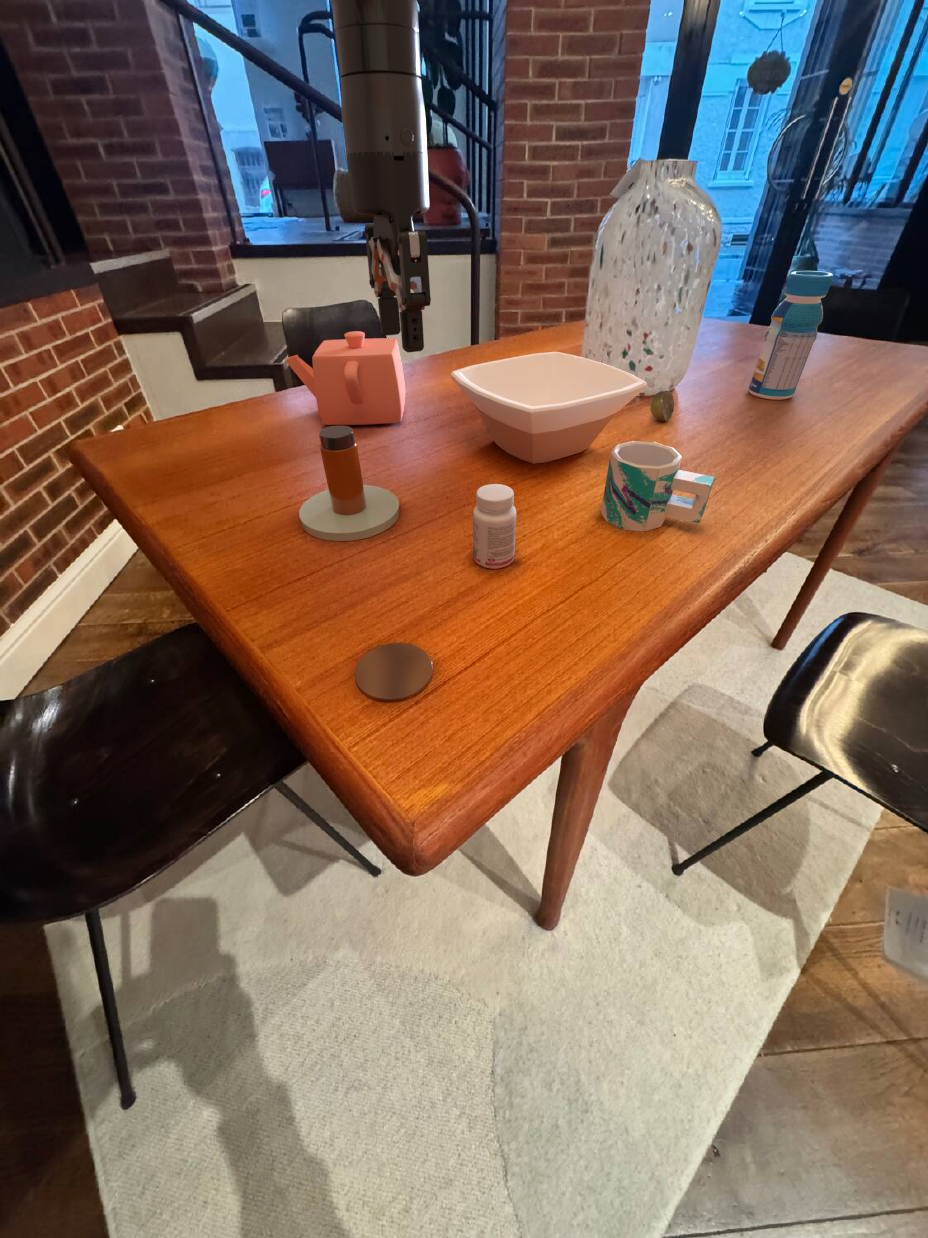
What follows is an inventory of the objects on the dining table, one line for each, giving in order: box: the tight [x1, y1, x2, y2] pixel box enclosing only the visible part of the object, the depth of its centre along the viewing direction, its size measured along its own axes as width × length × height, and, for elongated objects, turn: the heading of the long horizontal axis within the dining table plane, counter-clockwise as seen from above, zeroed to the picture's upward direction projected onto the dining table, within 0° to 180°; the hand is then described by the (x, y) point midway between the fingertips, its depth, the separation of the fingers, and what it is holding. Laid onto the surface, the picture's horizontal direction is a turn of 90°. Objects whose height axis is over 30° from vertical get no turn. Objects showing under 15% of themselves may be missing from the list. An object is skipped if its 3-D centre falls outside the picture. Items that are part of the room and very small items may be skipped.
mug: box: [600, 440, 716, 532], centre depth 64 cm, size 8×12×8 cm
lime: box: [649, 389, 675, 422], centre depth 92 cm, size 4×5×5 cm
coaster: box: [354, 642, 434, 703], centre depth 47 cm, size 7×7×1 cm
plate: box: [298, 484, 401, 542], centre depth 69 cm, size 13×13×1 cm
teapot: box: [285, 330, 406, 426], centre depth 93 cm, size 20×22×14 cm
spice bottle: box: [318, 425, 366, 515], centre depth 65 cm, size 4×4×10 cm
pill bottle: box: [472, 483, 517, 570], centre depth 58 cm, size 5×5×8 cm
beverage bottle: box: [748, 270, 834, 401], centre depth 96 cm, size 8×8×20 cm
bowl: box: [450, 351, 648, 465], centre depth 82 cm, size 24×25×11 cm
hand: (401, 342), depth 59 cm, fingers open, 8 cm apart
